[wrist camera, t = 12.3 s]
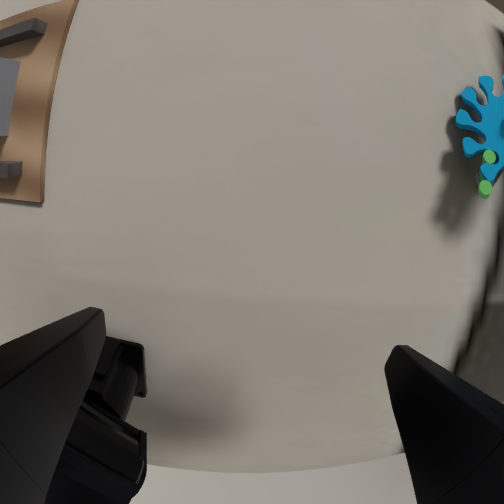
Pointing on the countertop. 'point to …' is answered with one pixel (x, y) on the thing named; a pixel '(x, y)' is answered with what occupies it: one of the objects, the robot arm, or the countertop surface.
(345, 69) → the countertop surface
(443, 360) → the countertop surface
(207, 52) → the countertop surface
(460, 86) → the countertop surface
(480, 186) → the blue splash shape
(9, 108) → the block
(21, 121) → the dock
